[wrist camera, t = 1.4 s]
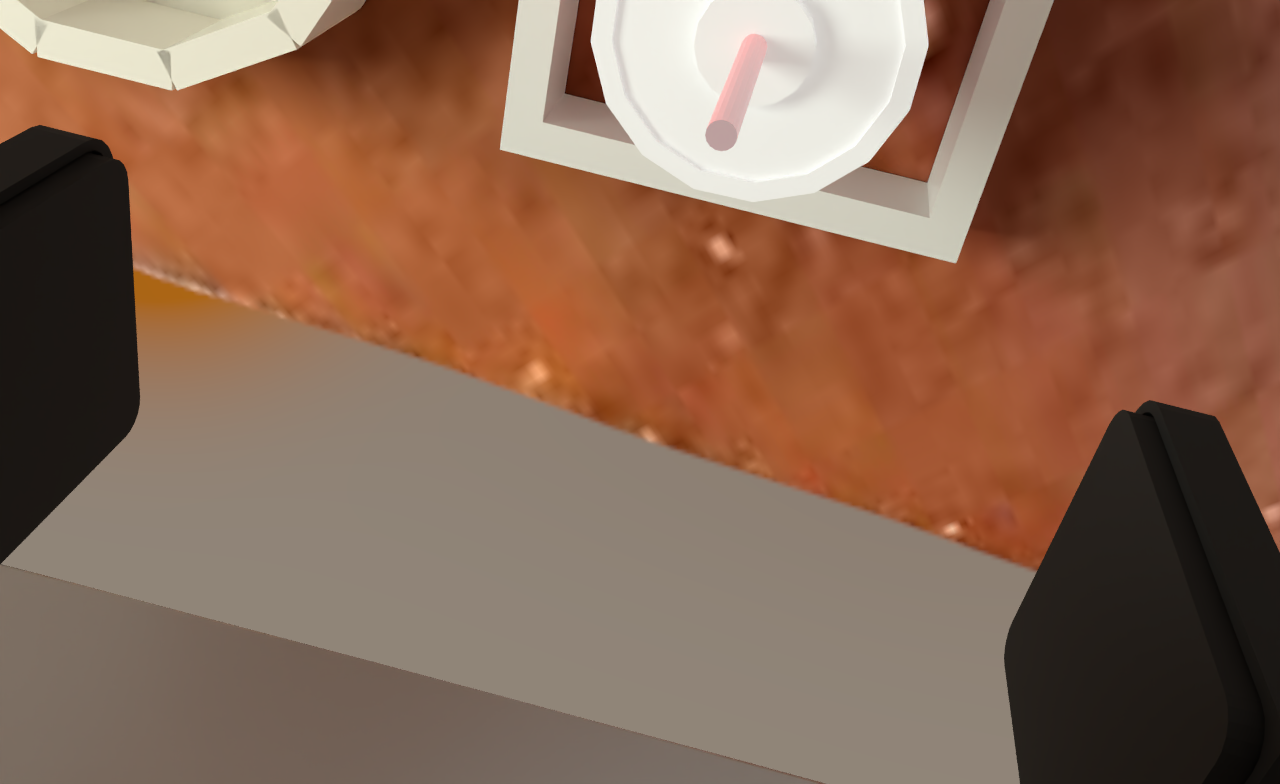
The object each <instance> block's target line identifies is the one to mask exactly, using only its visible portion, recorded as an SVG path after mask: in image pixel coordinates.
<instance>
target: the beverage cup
mask: <svg viewBox="0 0 1280 784" xmlns="http://www.w3.org/2000/svg"><path fill="white" fill-rule="evenodd" d="M591 45H592V49H593V53H594V57H595V61H596V65H597V69H598V73H599V77H600V81H601V85H602V89H603V93H604V97H605V101H606V104H607V106H608V107H609V109H610V110H611V111H612V113H613V114H614V116H615V117H616V118H617V120H618V121H619V123H620V124H621V126H622V127H623V128H624V130H625V131H626V133H627V134H628V135H629V137H630V138H631V140H632V141H633V143H634V144H635V145H636V147H637V148H638V150H639V151H640V152H641V154H642V155H643V156H645V157H646V158H648V159H649V160H651V161H652V162H654V163H655V164H657V165H658V166H660V167H661V168H663V169H664V170H666V171H667V172H669V173H670V174H672V175H673V176H675V177H676V178H678V179H679V180H681V181H682V182H684V183H685V184H687V185H688V186H690V187H691V188H693V189H696V190H701V191H705V192H710V193H714V194H719V195H723V196H728V197H732V198H737V199H741V200H746V201H750V202H758V201H764V200H771V199H777V198H784V197H791V196H797V195H804V194H811V193H815V192H817V191H819V190H820V189H822V188H824V187H826V186H827V185H829V184H831V183H832V182H834V181H836V180H838V179H839V178H841V177H843V176H845V175H846V174H848V173H850V172H852V171H853V170H855V169H857V168H859V167H860V166H862V165H864V164H865V163H867V162H869V161H870V160H871V158H872V157H873V156H874V155H875V153H876V152H877V151H878V150H879V148H880V147H881V146H882V145H883V143H884V142H885V141H886V140H887V138H888V137H889V136H890V135H891V133H892V132H893V131H894V129H895V128H896V127H897V126H898V124H899V123H900V122H901V121H902V119H903V118H904V117H905V116H906V114H907V113H908V112H909V111H910V108H911V104H912V101H913V97H914V94H915V91H916V87H917V84H918V80H919V77H920V74H921V70H922V67H923V63H924V60H925V57H926V53H927V50H928V46H929V44H928V34H927V25H926V17H925V8H924V0H596V6H595V13H594V20H593V28H592V35H591Z"/></svg>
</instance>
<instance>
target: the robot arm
mask: <svg viewBox="0 0 1280 784" xmlns="http://www.w3.org/2000/svg"><path fill="white" fill-rule="evenodd" d="M134 297H135V296H134V278H133V259H132V241H131V222H130V204H129V185H128V176H127V171H126V169H125V166H124V164H123V163H122V162H120V161H119V160H116V159H113V156H112V154H111V151H110V149H109V147H108V146H107V145H106V144H105V143H104V142H103V141H102V140H98V139H94V138H90V137H86V136H82V135H78V134H74V133H70V132H66V131H62V130H58V129H54V128H50V127H46V126H42V125H38V126H35V127H31V128H29V129H27V130H26V131H24V132H22V133H20V134H18V135H16V136H14V137H13V138H11V139H9V140H7V141H5V142H3V143H1V144H0V784H825V783H822V782H818V781H814V780H811V779H807V778H803V777H800V776H796V775H792V774H789V773H785V772H781V771H778V770H773V769H769V768H766V767H763V766H759V765H755V764H752V763H748V762H744V761H741V760H737V759H733V758H730V757H726V756H722V755H719V754H715V753H711V752H708V751H704V750H700V749H697V748H693V747H689V746H685V745H681V744H678V743H674V742H670V741H667V740H663V739H659V738H656V737H652V736H648V735H644V734H641V733H637V732H633V731H629V730H625V729H622V728H618V727H615V726H610V725H607V724H603V723H599V722H595V721H592V720H588V719H584V718H581V717H577V716H574V715H570V714H566V713H562V712H558V711H555V710H551V709H547V708H544V707H540V706H536V705H533V704H529V703H525V702H521V701H518V700H514V699H510V698H506V697H502V696H499V695H495V694H491V693H488V692H484V691H480V690H476V689H472V688H469V687H465V686H461V685H457V684H454V683H450V682H446V681H443V680H439V679H435V678H431V677H428V676H424V675H420V674H417V673H412V672H409V671H405V670H401V669H398V668H394V667H390V666H386V665H383V664H379V663H375V662H372V661H368V660H364V659H360V658H356V657H353V656H349V655H345V654H341V653H337V652H333V651H329V650H326V649H322V648H318V647H314V646H311V645H307V644H303V643H299V642H296V641H292V640H288V639H284V638H280V637H277V636H273V635H269V634H265V633H261V632H258V631H254V630H250V629H246V628H242V627H239V626H235V625H231V624H227V623H223V622H220V621H216V620H212V619H208V618H204V617H201V616H197V615H193V614H189V613H185V612H182V611H178V610H174V609H170V608H166V607H163V606H159V605H155V604H151V603H147V602H144V601H140V600H136V599H132V598H129V597H125V596H121V595H117V594H113V593H109V592H106V591H102V590H98V589H94V588H91V587H87V586H83V585H79V584H75V583H72V582H68V581H64V580H60V579H56V578H52V577H48V576H45V575H41V574H37V573H33V572H29V571H25V570H21V569H18V568H14V567H10V566H5V565H2V564H1V563H2V562H3V561H4V560H5V559H6V558H7V557H8V556H9V555H10V554H11V553H12V552H13V551H14V550H15V549H16V548H17V547H18V546H19V545H20V544H21V543H22V542H23V541H24V539H26V537H28V536H29V535H30V533H31V532H32V531H33V530H34V529H35V528H36V527H37V526H38V525H39V524H40V523H41V522H42V521H43V520H44V519H45V518H46V517H47V516H48V515H49V514H50V513H51V512H52V511H53V510H54V509H55V508H56V507H57V506H58V505H59V504H60V503H61V502H62V501H63V500H64V499H65V498H66V497H67V496H68V495H69V494H70V493H71V492H72V491H73V490H74V489H75V488H76V487H77V486H78V485H79V484H80V483H81V482H82V480H84V479H85V477H86V476H87V475H89V473H90V472H91V471H92V470H93V469H94V468H95V467H96V466H97V465H98V464H99V463H100V462H101V461H102V460H103V459H104V458H105V457H106V456H107V455H108V454H109V453H110V452H111V451H112V450H113V449H114V448H115V447H116V446H117V445H118V444H119V443H120V442H121V441H122V440H123V439H124V438H125V437H126V436H127V434H128V433H129V432H130V430H131V428H132V427H133V425H134V423H135V420H136V417H137V414H138V410H139V405H140V389H139V371H138V353H137V334H136V317H135V298H134ZM1004 662H1005V672H1006V679H1007V687H1008V695H1009V702H1010V710H1011V717H1012V725H1013V732H1014V740H1015V747H1016V755H1017V763H1018V770H1019V778H1020V784H1280V552H1279V550H1278V548H1277V546H1276V544H1275V541H1274V539H1273V537H1272V535H1271V533H1270V531H1269V528H1268V526H1267V524H1266V522H1265V520H1264V518H1263V515H1262V513H1261V511H1260V509H1259V507H1258V505H1257V503H1256V500H1255V498H1254V496H1253V494H1252V492H1251V490H1250V487H1249V485H1248V483H1247V481H1246V479H1245V477H1244V474H1243V472H1242V470H1241V468H1240V466H1239V464H1238V461H1237V459H1236V457H1235V455H1234V453H1233V451H1232V448H1231V446H1230V444H1229V442H1228V440H1227V438H1226V435H1225V433H1224V431H1223V429H1222V427H1221V425H1220V422H1219V421H1218V420H1217V419H1216V417H1215V416H1211V415H1207V414H1203V413H1199V412H1195V411H1191V410H1187V409H1183V408H1179V407H1175V406H1171V405H1167V404H1163V403H1159V402H1155V401H1151V400H1149V401H1147V402H1145V403H1143V404H1142V405H1141V406H1140V407H1139V409H1138V410H1137V411H1136V412H1135V413H1134V412H1130V411H1126V410H1122V411H1120V412H1118V413H1117V414H1116V415H1115V416H1114V418H1113V419H1112V421H1111V423H1110V424H1109V426H1108V428H1107V430H1106V432H1105V434H1104V436H1103V438H1102V441H1101V443H1100V445H1099V447H1098V449H1097V451H1096V453H1095V455H1094V457H1093V459H1092V461H1091V463H1090V465H1089V467H1088V469H1087V471H1086V473H1085V475H1084V477H1083V479H1082V481H1081V483H1080V485H1079V487H1078V489H1077V491H1076V493H1075V495H1074V497H1073V500H1072V502H1071V504H1070V506H1069V508H1068V510H1067V512H1066V514H1065V516H1064V518H1063V520H1062V522H1061V524H1060V526H1059V528H1058V530H1057V532H1056V534H1055V536H1054V538H1053V540H1052V542H1051V544H1050V546H1049V548H1048V550H1047V552H1046V554H1045V556H1044V559H1043V561H1042V563H1041V565H1040V567H1039V569H1038V571H1037V573H1036V575H1035V577H1034V579H1033V581H1032V583H1031V585H1030V587H1029V589H1028V591H1027V593H1026V595H1025V597H1024V599H1023V601H1022V603H1021V605H1020V607H1019V609H1018V612H1017V614H1016V616H1015V618H1014V620H1013V622H1012V624H1011V627H1010V629H1009V633H1008V636H1007V640H1006V645H1005V654H1004Z"/></svg>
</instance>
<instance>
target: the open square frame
mask: <svg viewBox="0 0 1280 784" xmlns="http://www.w3.org/2000/svg"><path fill="white" fill-rule="evenodd" d="M1053 1H1054V0H990V2H989V5H988V7H987V10H986V13H985V16H984V19H983V22H982V25H981V28H980V31H979V34H978V37H977V39H976V42H975V45H974V48H973V51H972V54H971V57H970V60H969V63H968V66H967V69H966V72H965V74H964V77H963V80H962V83H961V86H960V89H959V92H958V95H957V98H956V101H955V104H954V106H953V109H952V112H951V115H950V118H949V121H948V124H947V127H946V130H945V133H944V136H943V139H942V141H941V144H940V147H939V150H938V153H937V156H936V159H935V162H934V165H933V168H932V171H931V173H930V176H929V179H928V182H927V183H926V182H922V181H918V180H914V179H910V178H906V177H902V176H898V175H894V174H890V173H885V172H881V171H877V170H873V169H869V168H865V167H861V166H860V167H859V168H857V169H855V170H853V171H852V172H850V173H848V174H846V175H845V176H843V177H841V178H839V179H838V180H836V181H834V182H832V183H831V184H829V185H827V186H826V187H824V188H822V189H820V190H819V191H817V192H815V193H811V194H804V195H797V196H791V197H784V198H777V199H771V200H764V201H758V202H750V201H746V200H741V199H737V198H732V197H728V196H723V195H719V194H714V193H710V192H705V191H701V190H696V189H693V188H691V187H690V186H688V185H687V184H685V183H684V182H682V181H681V180H679V179H678V178H676V177H675V176H673V175H672V174H670V173H669V172H667V171H666V170H664V169H663V168H661V167H660V166H658V165H657V164H655V163H654V162H652V161H651V160H649V159H648V158H646V157H645V156H643V155H642V154H641V152H640V151H639V150H638V148H637V147H636V145H635V144H634V143H633V141H632V140H631V138H630V137H629V135H628V134H627V133H626V131H625V130H624V128H623V127H622V126H621V124H620V123H619V121H618V120H617V118H616V117H615V116H614V114H613V113H612V111H611V110H610V109H609V107H608V106H607V104H605V103H601V102H597V101H593V100H589V99H585V98H581V97H577V96H573V95H569V94H565V88H566V82H567V75H568V69H569V62H570V56H571V49H572V43H573V36H574V30H575V23H576V17H577V11H578V4H579V0H519V3H518V11H517V19H516V26H515V34H514V42H513V50H512V58H511V66H510V74H509V82H508V90H507V97H506V105H505V113H504V121H503V129H502V137H501V145H500V150H504V151H508V152H512V153H516V154H520V155H524V156H528V157H532V158H536V159H540V160H544V161H548V162H552V163H556V164H560V165H564V166H568V167H572V168H576V169H580V170H584V171H588V172H592V173H596V174H600V175H604V176H608V177H612V178H616V179H620V180H624V181H628V182H632V183H636V184H640V185H644V186H648V187H652V188H656V189H660V190H664V191H668V192H672V193H676V194H680V195H684V196H688V197H692V198H696V199H700V200H704V201H708V202H712V203H716V204H720V205H724V206H728V207H732V208H736V209H740V210H744V211H748V212H752V213H756V214H760V215H764V216H768V217H772V218H776V219H780V220H784V221H788V222H792V223H796V224H800V225H804V226H808V227H812V228H816V229H820V230H824V231H828V232H832V233H836V234H840V235H844V236H848V237H852V238H856V239H860V240H864V241H868V242H873V243H877V244H881V245H885V246H889V247H893V248H897V249H901V250H905V251H909V252H913V253H917V254H921V255H925V256H929V257H933V258H937V259H941V260H945V261H949V262H953V263H956V262H957V259H958V256H959V254H960V251H961V248H962V246H963V243H964V240H965V238H966V235H967V232H968V230H969V227H970V224H971V221H972V219H973V216H974V213H975V211H976V208H977V205H978V203H979V200H980V197H981V195H982V192H983V189H984V187H985V184H986V181H987V179H988V176H989V173H990V171H991V168H992V165H993V162H994V160H995V157H996V154H997V152H998V149H999V146H1000V144H1001V141H1002V138H1003V136H1004V133H1005V130H1006V128H1007V125H1008V122H1009V120H1010V117H1011V114H1012V111H1013V109H1014V106H1015V103H1016V101H1017V98H1018V95H1019V93H1020V90H1021V87H1022V85H1023V82H1024V79H1025V77H1026V74H1027V71H1028V69H1029V66H1030V63H1031V60H1032V58H1033V55H1034V52H1035V50H1036V47H1037V44H1038V42H1039V39H1040V36H1041V34H1042V31H1043V28H1044V26H1045V23H1046V20H1047V18H1048V15H1049V12H1050V10H1051V7H1052V4H1053Z"/></svg>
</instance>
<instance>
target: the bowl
mask: <svg viewBox="0 0 1280 784" xmlns="http://www.w3.org/2000/svg"><path fill="white" fill-rule="evenodd" d="M365 1H366V0H0V28H1V29H2V30H3V31H4V32H5V33H7V34H8V35H9V36H10V37H12V38H13V39H14V40H15V41H17V42H18V43H19V44H20V45H22V46H23V47H24V48H25V49H27V50H28V51H29V52H30V53H32V54H34V53H36V52H37V54H38V57H40V58H44V59H48V60H52V61H56V62H60V63H64V64H68V65H72V66H76V67H80V68H84V69H88V70H92V71H96V72H100V73H104V74H108V75H112V76H116V77H120V78H124V79H128V80H132V81H136V82H140V83H144V84H148V85H152V86H156V87H160V88H164V89H168V90H174V89H175V88H176V89H177V90H180V89H183V88H186V87H188V86H191V85H194V84H197V83H200V82H203V81H206V80H209V79H212V78H215V77H218V76H221V75H224V74H227V73H230V72H232V71H235V70H238V69H241V68H244V67H247V66H250V65H253V64H256V63H259V62H262V61H265V60H268V59H271V58H273V57H276V56H279V55H282V54H285V53H288V52H291V51H294V50H297V49H298V48H300V47H301V46H303V45H305V44H306V43H308V42H309V41H311V40H312V39H314V38H316V37H317V36H319V35H320V34H322V33H323V32H325V31H327V30H328V29H330V28H331V27H333V26H334V25H336V24H338V23H339V22H341V21H342V20H344V19H345V18H347V17H349V16H350V15H352V14H353V13H355V12H356V11H357V10H359V9H360V8H361V7H362V6H363V4H364V3H365Z"/></svg>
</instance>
